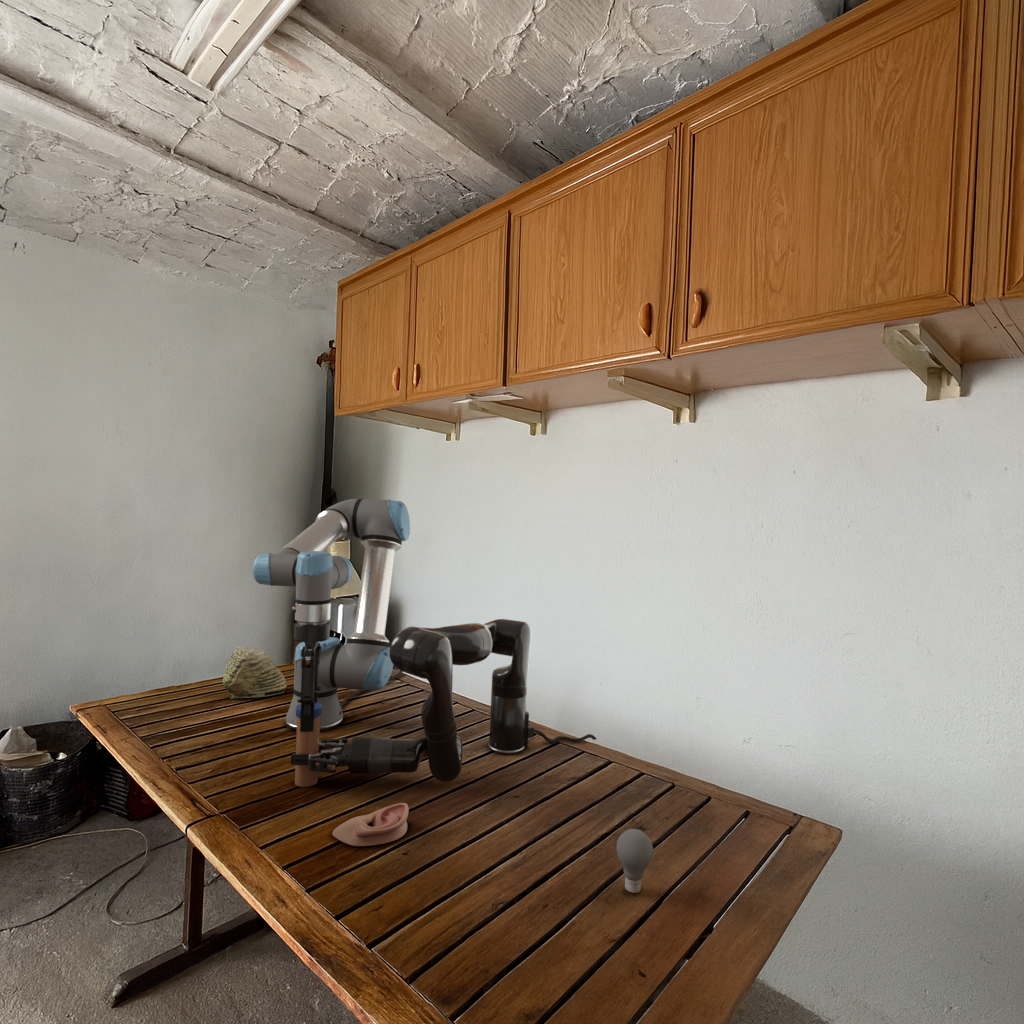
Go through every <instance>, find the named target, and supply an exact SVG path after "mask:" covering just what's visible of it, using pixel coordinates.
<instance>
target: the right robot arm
mask: <svg viewBox="0 0 1024 1024" xmlns="http://www.w3.org/2000/svg"><path fill="white" fill-rule="evenodd" d="M532 634H533V632H532V627H531V625H530V624H529V623H528V622H527V621H522V620H514V619H506V618H498V619H494V620H490V621H487V622H485V623H480V622H469V623H468V622H467V623H460V624H454V625H447V626H441V627H440V626H439V627H421V626H408V627H406V628H403V629H401V630H400V631H399V632H398V633H397V634H396V635H395V637H394V638H393V639H392V641H391V643H390V645H389V647H390V650H389V654H390V659H391V662H392V663H393V667H395V668H396V669H397V670H399V671H403V672H402V673H405V674H408V675H411V676H414V677H417V678H420V679H425V680H427V682H428V683H429V685H430V689H431V691H430V693H429V695H428V696H427V698H426V699H425V701H424V702H423V704H422V706H421V712H420V713H421V714H420V717H421V724H422V728H423V732H424V733H423V734H424V736H420V737H417V738H413V739H408V738H407V739H406V738H389V737H373V736H372V737H371V736H370V737H366V736H364V737H363V736H354V737H353V738H352V739H351V742H350V743H349V741H348V740H349V739H348V738H347V737H340V738H338V737H337V738H325V739H324V738H323V739H320V741H319V753H315V754H296V753H292V755H291V756H290V764H291V765H292V766H295V765H308V766H309V770H310V771H318V773H319V772H320V773H326V774H335V773H336V772H337V768H341V767H348V772H349V773H350V774H371V775H373V774H377V775H378V774H379V775H380V774H390V773H392V774H393V773H394V774H395V773H396V774H411V773H415V772H417V771H418V770H419V767H420V765H421V762H422V761H423V760H424V759H426V758H427V759H428V768H429V771H430V773H431V775H432V776H433V778H434V779H435V780H437V781H439V782H441V783H450V782H453V781H455V780H456V779H457V778H458V777H459V775H460V774H461V772H462V767H463V750H464V749H463V748H464V746H463V740H462V738H461V737H460V736H459V735H458V728H457V727H458V726H457V721H456V716H455V712H454V705H453V685H454V684H453V679H454V677H453V672H454V669H453V667H454V666H469V665H474V664H477V663H481V662H483V661H485V660H486V659H487V658H488V657H489V656H490V655H491V654H494V655H500V656H505V657H511V663H510V664H508V665H504V666H499V667H496V668H495V669H493V670H492V674H491V690H490V691H491V692H490V713H489V714H490V717H489V735H488V749H489V750H490V751H492V752H493V753H496V754H501V755H502V754H503V755H514V754H515V755H516V754H520V753H522V752H523V751H524V750H528V748H529V746H528V744H529V739H531V738H534V737H535V734H537V735H539V736H541V737H542V738H543V739H544V740H545V741H546V742H547V743H549V744H554V743H556V742H557V741H568V742H571V743H572V742H573V743H580V742H583V741H585V740H587V739H589V738H590V739H592V740H593V741H595V740H597V737H596V736H595V735H594V734H591V733H588V734H585V735H583V736H581V737H579V738H577V737H576V738H574V737H569V736H563V735H560V736H559V735H558V736H556V737H554V738H552V739H550V738H549V737H548V736H547V735H546V734H545V733H544V732H543V731H541V730H539V729H536V728H535V727H534V726H532V725H531V724H529V723H530V712H529V711H528V710H527V698H528V678H529V677H528V676H529V671H530V662H531V650H532V640H533V635H532ZM317 757H319V758H317ZM316 766H318V767H316Z"/></svg>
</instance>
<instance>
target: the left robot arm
mask: <svg viewBox="0 0 1024 1024" xmlns="http://www.w3.org/2000/svg"><path fill="white" fill-rule="evenodd" d="M410 533H411V521H410V515H409V510H408V507H407V505H406V504H405V503H404V502H403V501H401V500H392V499H371V498H370V499H369V498H350V499H345V500H343V501H340V502H337V503H334V504H333V505H331V506H329V507H327V508H325V509H324V510H322V511H320V513H319V514H318V515H317V516H316V518H315V521H314V522H313V523H312V524H311V525H309V526H308V527H307V528H305V529H304V530H303V531H301V533H300V534H298V535H297V536H295V537H294V538H293V539H292V540H290V541H289V542H288V543H287V544H285V546H283V547H282V548H280V550H278V551H277V552H276V553H272V552H268V553H260V554H258V555H257V556H256V558H255V559H254V561H253V565H252V574H253V579H254V580H255V582H256V584H259V585H264V586H270V587H273V586H276V587H292V588H293V587H295V599H294V600H295V601H294V602H295V605H294V606H292V608H291V610H292V611H294V620H295V621H296V622H295V623H294V625H293V639H294V641H297V642H299V643H298V644H297V645H296V647H295V652H294V653H295V654H294V659H293V661H294V670H293V671H294V672H293V695H292V696H293V697H292V699H291V702H290V704H289V708H288V711H287V713H286V715H285V726H286V728H287V729H289V730H291V731H294V732H295V731H297V716H296V707H297V706H298V705H299V704H301V720H300V732H313V730H314V704H315V703H319V704H321V705H322V714H321V716H320V732H325V731H329V730H332V729H335V728H337V727H339V726H340V725H342V723H343V722H344V714H343V709H342V706H344V705H345V704H346V703H347V702H348V701H349V700H351V699H352V698H354V697H355V696H357V695H359V694H361V693H363V692H365V691H380V690H382V689H383V688H384V687H385V686H386V685H387V684H388V682H390V681H393V680H395V679H397V678H398V677H400V676H401V675H402V673H404V672H403V671H400V670H399V671H398V673H397V674H395V675H392V672H393V668H394V665H393V663H392V662H391V659H390V654H389V650H390V640H389V639H388V638H387V637H386V626H387V620H388V611H389V604H390V595H391V588H392V579H393V572H394V563H395V556H396V552H398V551H399V550H400V549H401V548H402V543H403V542H406V541H408V539H409V538H410ZM348 538H349V539H351V538H354V539H360V544H361V546H362V547H363V548H364V556H363V562H362V569H361V570H362V571H361V577H360V585H359V591H358V598H357V605H356V612H355V620H354V627H353V631H352V633H351V634H350V635H348V636H347V638H346V643H345V644H341V641H340V639H339V638H338V637H334V636H330V635H331V634H330V633H331V622H329V621H330V620H331V617H332V616H331V615H332V612H331V611H332V590H335V589H340V588H342V587H344V586H345V585H346V584H348V583H349V582H350V581H351V580H352V578H353V575H354V567H353V564H352V563H351V561H350V560H349V559H348V558H347V557H345V556H342V555H332V553H331V552H329V551H327V549H328V548H329V547H331V546H332V545H333V544H334V543H337V542H340V541H342V540H343V539H348ZM391 675H392V676H391ZM338 689H350V690H356V691H354V692H353V693H351V694H349V695H347V696H346V697H345V698H344V699H342V701H341V702H340V699H339V695H338Z"/></svg>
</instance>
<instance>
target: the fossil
mask: <svg viewBox="0 0 1024 1024" xmlns="http://www.w3.org/2000/svg"><path fill="white" fill-rule="evenodd" d="M222 676H223V677H222V685H223V687H224V688H225V690H226V691H228V693H229V698H230V699H250V698H264V697H271V696H275V695H281V694H284V693H285V691H286V689H287V687H288V686H287V680H286V678H285V676H284V674H283V673H282V672H281V669H279V668H278V667H277V665H276V663H275V662H274V660H273V659H272V658H271V657H270V656H269V655H268V654H267V653H266V652H265V650H264V649H263V648H260V647H258V648H251V647H247V646H246V647H245V646H238V647H237V648H236V649H235V650H233V651H232V653H231V656H230V657H229V659H228V660H227V663H226V666H225V668H224V671H223V675H222Z"/></svg>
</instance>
